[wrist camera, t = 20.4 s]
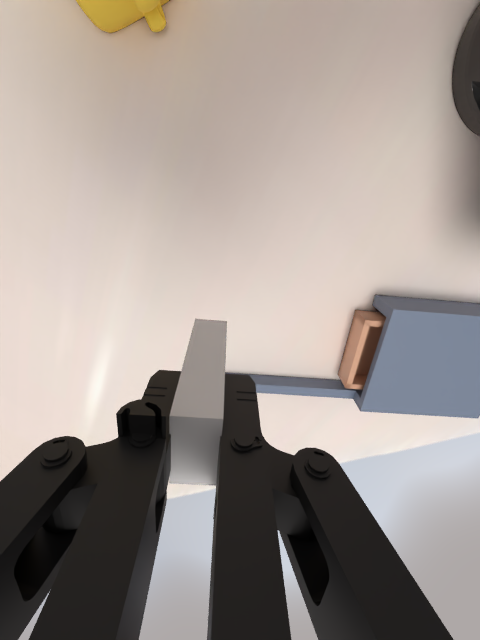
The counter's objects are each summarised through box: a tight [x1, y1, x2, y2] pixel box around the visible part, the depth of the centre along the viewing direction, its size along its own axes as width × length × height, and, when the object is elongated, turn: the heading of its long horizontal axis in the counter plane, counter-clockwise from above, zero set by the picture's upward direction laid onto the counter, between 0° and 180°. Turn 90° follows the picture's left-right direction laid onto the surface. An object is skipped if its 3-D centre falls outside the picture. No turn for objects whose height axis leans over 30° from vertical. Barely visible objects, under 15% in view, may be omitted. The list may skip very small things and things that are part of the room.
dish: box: [338, 310, 386, 389], centre depth 44 cm, size 11×16×4 cm
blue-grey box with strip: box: [226, 295, 480, 418], centre depth 43 cm, size 16×40×5 cm, turn 85°
